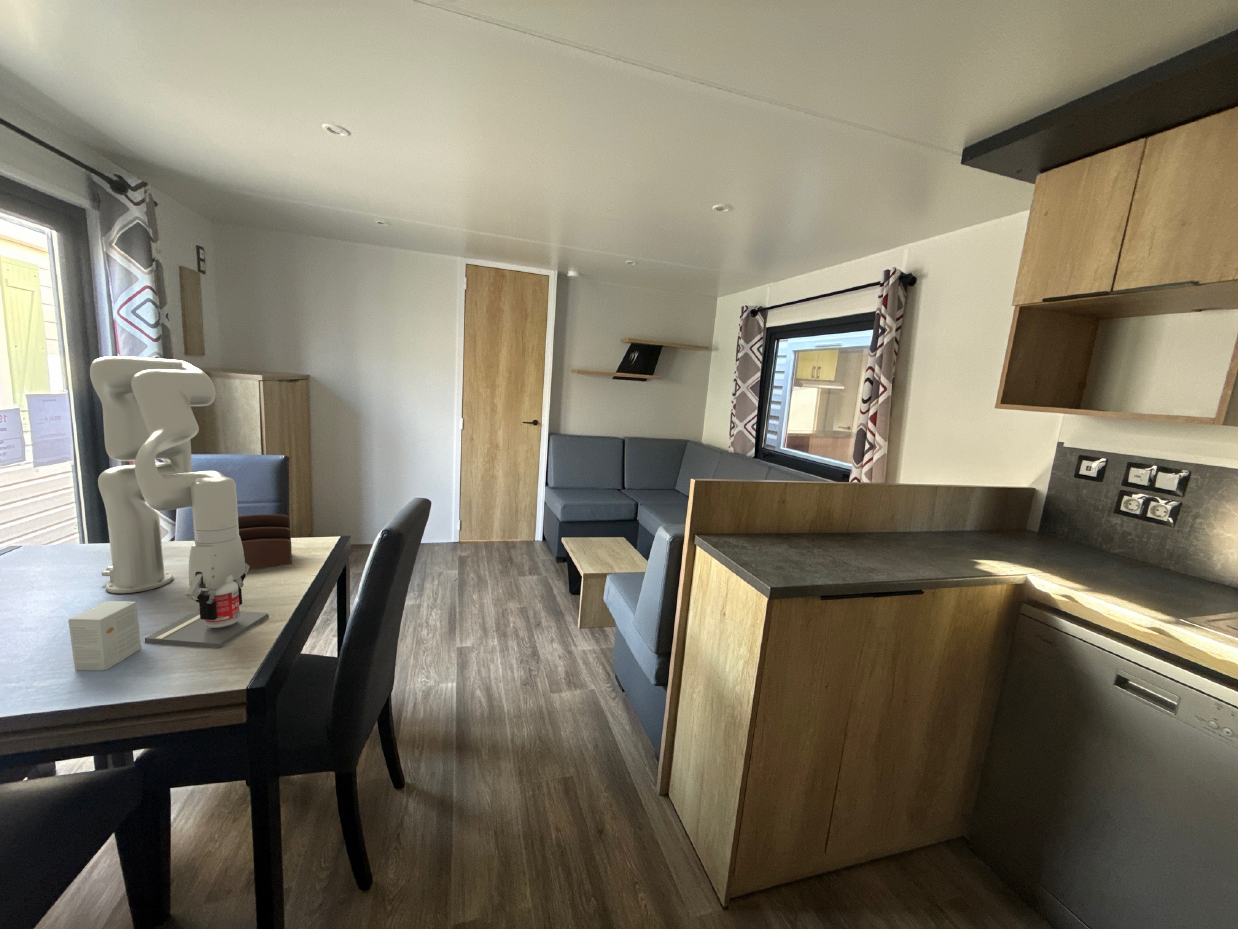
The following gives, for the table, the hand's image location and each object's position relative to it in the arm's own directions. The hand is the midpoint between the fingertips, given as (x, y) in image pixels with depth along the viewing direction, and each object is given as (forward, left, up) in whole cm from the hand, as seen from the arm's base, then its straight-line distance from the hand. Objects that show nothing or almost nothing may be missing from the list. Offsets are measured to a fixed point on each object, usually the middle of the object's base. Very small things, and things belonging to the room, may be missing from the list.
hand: (222, 611), depth 109 cm
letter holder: (-22, +37, -5) cm, 43 cm away
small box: (-11, -14, -5) cm, 18 cm away
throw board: (-3, 0, -4) cm, 5 cm away
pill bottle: (0, 0, -3) cm, 3 cm away
